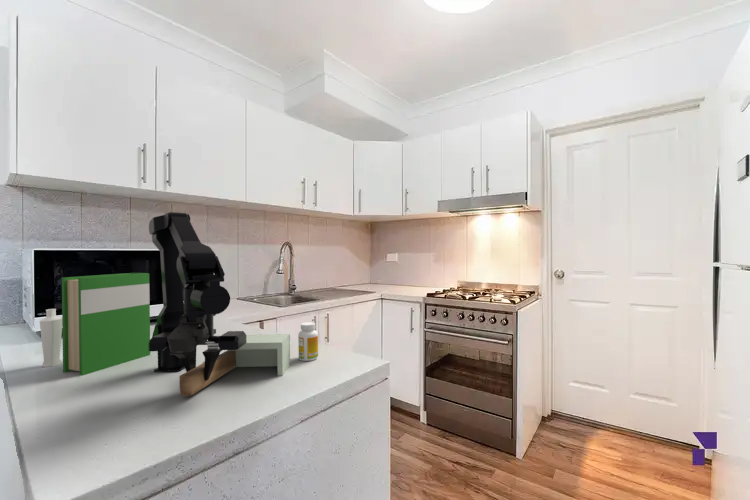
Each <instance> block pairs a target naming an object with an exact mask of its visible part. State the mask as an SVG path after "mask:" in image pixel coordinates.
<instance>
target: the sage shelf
mask: <svg viewBox="0 0 750 500" xmlns="http://www.w3.org/2000/svg"><path fill="white" fill-rule="evenodd" d="M246 342H247V343H245V344H244V345H243V346H242V347H240V348H239V349H237V350H226V351H236V367H235V368H245V367H246V368H248V367H250V368H251V367H256V368H257V367H277V376H280V377H281V376H284V374H285V372H286V371H287V370H288V368H289V367H290V365H291V335H290V333H289V334H288V333H287V334H285V333H284V334H246Z"/></svg>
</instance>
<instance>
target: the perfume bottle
mask: <svg viewBox="0 0 750 500" xmlns="http://www.w3.org/2000/svg"><path fill="white" fill-rule="evenodd" d="M56 311H57V308H48V309H45V312H46V316H45V317H43V318H42V319H41V320H40V321H39V329H40V338H41V349H42V356H43V362H42V365H41V366H42V368H47V367H49V368H50V367H55V366H58V365H61V364H62V361H61V358H60V357H61V346H62V345H61V344H62V336H63V333H62V317H60V316H57V312H56Z"/></svg>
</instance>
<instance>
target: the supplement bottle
mask: <svg viewBox="0 0 750 500" xmlns="http://www.w3.org/2000/svg"><path fill="white" fill-rule="evenodd" d="M315 329H316V323H315V322H311V321H310V322H302V323H300V330H301V331H299V333H298V336H297V337H298V338H297V339H298V360H300V361H302V362H310V361H315V360H317V359H318V358H319V334H318V330H315Z"/></svg>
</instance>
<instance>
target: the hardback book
mask: <svg viewBox="0 0 750 500" xmlns="http://www.w3.org/2000/svg"><path fill="white" fill-rule="evenodd" d="M150 297H151V295H150V273H148V272H147V273H146V272H129V273H127V272H126V273H111V274H109V273H108V274H98V275H97V274H96V275H84V276H83V275H82V276H81V275H79V276H69V277H68V276H67V277H61V316H62V317H61V318H62V373H65V374H66V373H69V372H73V371H75V372H76V371H77V372H78V373H79V376H86V375H88V374H93V373H95V372H99V371H102V370H105V369H109V368H113V367H115V366H119V365H122V364H125V363H129V362H133V361H134V360H138V359H142V358H144V357H147V356H151V351H149V345H148V343H149V341H150V339H151V313H150V312H151V308H150V307H151V306H150V301H151V300H150Z"/></svg>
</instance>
